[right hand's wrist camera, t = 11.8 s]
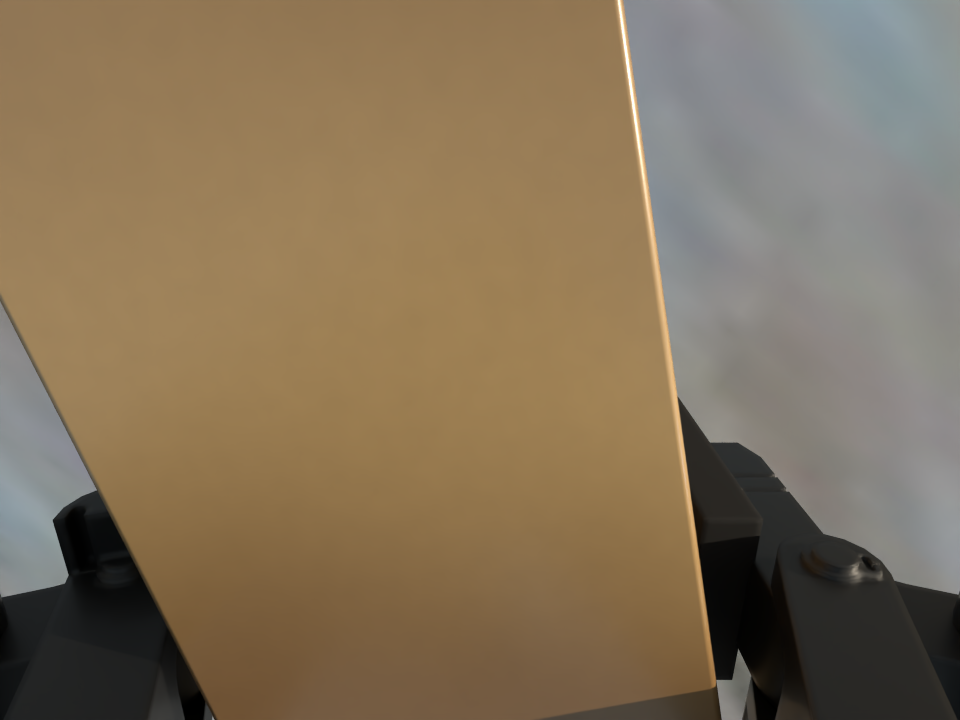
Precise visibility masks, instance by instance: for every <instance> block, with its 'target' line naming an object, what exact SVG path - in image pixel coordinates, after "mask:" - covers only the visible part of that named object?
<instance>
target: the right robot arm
mask: <svg viewBox="0 0 960 720" xmlns="http://www.w3.org/2000/svg"><path fill="white" fill-rule="evenodd" d="M677 398H678V396H677ZM678 405H679V412H680V419H681V427H682V434H683V441H684V449H685V456H686V463H687V471H688V478H689V485H690V493H691V500H692V507H693V515H694V522H695V529H696V536H697V544H698V551H699V558H700V566H701V573H702V580H703V588H704V595H705V602H706V610H707V617H708V624H709V632H710V639H711V646H712V653H713V661H714V668H715V675H716V680H732V678H733V672H734V667H735V662H736V657H737V652H738V649H739V651H740V653H741V655H742V657H743V659H744V661H745V663H746V665H747V667H748V669H749V671H750V673H751V680H750V685H749V689H748V694H747V699H746V704H745V708H744V713H743V718H742V720H960V592H959V595H957V594H952V593H947V592H942V591H937V590H932V589H928V588H923V587H918V586H913V585H908V584H904V583H901V582H897V581H894V579H893V577H892V575H891V573H890V572H889V571H888V569H887V568H886V567H885V565H884V564H883V563H882V561H880V560H879V559H878V558H876V557H875V556H874V555H872V554H871V553H870V552H868V551H867V550H865V549H864V548H862V547H859V546H857V545H855V544H853V543H851V542H849V541H846V540H844V539H840V538H837V537H833V536H829V535H825V534H823V533H822V532H821V530H820V529H819V528H818V527H817V526H816V524H815V523H814V522H813V521H812V519H811V518H810V517H809V516H808V515H807V513H806V512H805V511H804V510H803V508H802V507H801V506H800V505H799V503H798V502H797V501H796V500H795V499H794V497H793V496H792V495H791V494H790V492H786V487H785V486H784V485H783V484H782V483H781V481H780V480H779V479H778V478H777V477H775V474H774V473H773V472H772V470H771V469H770V468H769V467H768V465H767V464H766V463H765V462H764V460H763V459H762V458H761V457H760V456H758V455H756V454H755V453H753V452H752V451H750V450H748V449H747V448H745V447H744V446H742V445H740V444H739V443H710V442H709V441H708V439H707V438H706V436H705V435H704V433H703V432H702V431H701V429H700V428H699V426H698V425H697V423H696V422H695V421H694V419H693V418H692V416H691V415H690V413H689V412H688V410H687V409H686V408H685V406H684V405H683V403H682V402H681V400H680V399H679V398H678ZM53 523H54V526H55V530H56V533H57V537H58V540H59V543H60V547H61V550H62V554H63V557H64V560H65V564H66V567H67V571H68V574H69V576H68V578H67V580H66V583H65V584H62V585H58V586H55V587H50V588H46V589H41V590H36V591H31V592H26V593H22V594H17V595H12V596H7V597H1V595H0V720H212V714H211V712H210V710H209V708H208V706H207V704H206V702H205V700H204V698H203V696H202V694H201V692H200V690H199V688H198V686H197V684H196V682H195V680H194V678H193V676H192V674H191V673H190V671H189V669H188V667H187V665H186V663H185V661H184V659H183V657H182V655H181V653H180V651H179V649H178V647H177V645H176V643H175V641H174V639H173V637H172V635H171V633H170V632H169V630H168V628H167V626H166V624H165V622H164V620H163V618H162V616H161V614H160V612H159V610H158V608H157V606H156V604H155V602H154V600H153V598H152V596H151V594H150V592H149V591H148V589H147V587H146V585H145V583H144V581H143V579H142V577H141V575H140V573H139V571H138V569H137V567H136V565H135V563H134V561H133V559H132V557H131V555H130V553H129V551H128V549H127V548H126V546H125V544H124V542H123V540H122V538H121V536H120V534H119V532H118V530H117V528H116V526H115V524H114V522H113V520H112V518H111V516H110V514H109V512H108V510H107V508H106V507H105V505H104V503H103V501H102V499H101V497H100V495H99V493H98V491H94V492H92V493H89V494H87V495H84V496H82V497H80V498H78V499H77V500H75V501H74V502H72V503H70V504H69V505H67V506H66V507H64V508H63V509H62V510H61V511H60V512H59V514H58V515H57V516H56V517H55V518H54V519H53Z"/></svg>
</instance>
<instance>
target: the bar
mask: <svg viewBox="0 0 960 720" xmlns="http://www.w3.org/2000/svg"><path fill="white" fill-rule="evenodd" d="M0 302H1V303H2V305H3V307H4V309H5V311H6V313H7V315H8V317H9V319H10V321H11V323H12V325H13V327H14V329H15V331H16V333H17V335H18V337H19V339H20V341H21V343H22V344H23V346H24V348H25V350H26V352H27V354H28V356H29V358H30V360H31V362H32V364H33V366H34V368H35V370H36V372H37V374H38V376H39V378H40V380H41V382H42V384H43V385H44V387H45V389H46V391H47V393H48V395H49V397H50V399H51V401H52V403H53V405H54V407H55V409H56V411H57V413H58V415H59V417H60V419H61V421H62V423H63V425H64V426H65V428H66V430H67V432H68V434H69V436H70V438H71V440H72V442H73V444H74V446H75V448H76V450H77V452H78V454H79V456H80V458H81V460H82V462H83V464H84V466H85V467H86V469H87V471H88V473H89V475H90V477H91V479H92V481H93V483H94V485H95V487H96V489H97V491H98V493H99V495H100V497H101V499H102V501H103V503H104V505H105V507H106V508H107V510H108V512H109V514H110V516H111V518H112V520H113V522H114V524H115V526H116V528H117V530H118V532H119V534H120V536H121V538H122V540H123V542H124V544H125V546H126V548H127V549H128V551H129V553H130V555H131V557H132V559H133V561H134V563H135V565H136V567H137V569H138V571H139V573H140V575H141V577H142V579H143V581H144V583H145V585H146V587H147V589H148V591H149V592H150V594H151V596H152V598H153V600H154V602H155V604H156V606H157V608H158V610H159V612H160V614H161V616H162V618H163V620H164V622H165V624H166V626H167V628H168V630H169V632H170V633H171V635H172V637H173V639H174V641H175V643H176V645H177V647H178V649H179V651H180V653H181V655H182V657H183V659H184V661H185V663H186V665H187V667H188V669H189V671H190V673H191V674H192V676H193V678H194V680H195V682H196V684H197V686H198V688H199V690H200V692H201V694H202V696H203V698H204V700H205V702H206V704H207V706H208V708H209V710H210V712H211V714H212V715H213V717H214V719H215V720H722V719H721V712H720V705H719V697H718V690H717V683H716V675H715V668H714V661H713V653H712V646H711V639H710V632H709V624H708V617H707V610H706V602H705V595H704V588H703V580H702V573H701V566H700V558H699V551H698V544H697V536H696V529H695V522H694V515H693V507H692V500H691V493H690V485H689V478H688V471H687V463H686V456H685V449H684V441H683V434H682V427H681V419H680V412H679V405H678V398H677V390H676V383H675V376H674V368H673V361H672V354H671V346H670V339H669V332H668V324H667V317H666V310H665V302H664V295H663V288H662V281H661V273H660V266H659V259H658V251H657V244H656V237H655V229H654V222H653V215H652V207H651V200H650V193H649V185H648V178H647V171H646V164H645V156H644V149H643V142H642V134H641V127H640V120H639V112H638V105H637V98H636V90H635V83H634V76H633V68H632V61H631V54H630V47H629V39H628V32H627V25H626V17H625V10H624V3H623V0H0Z"/></svg>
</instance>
